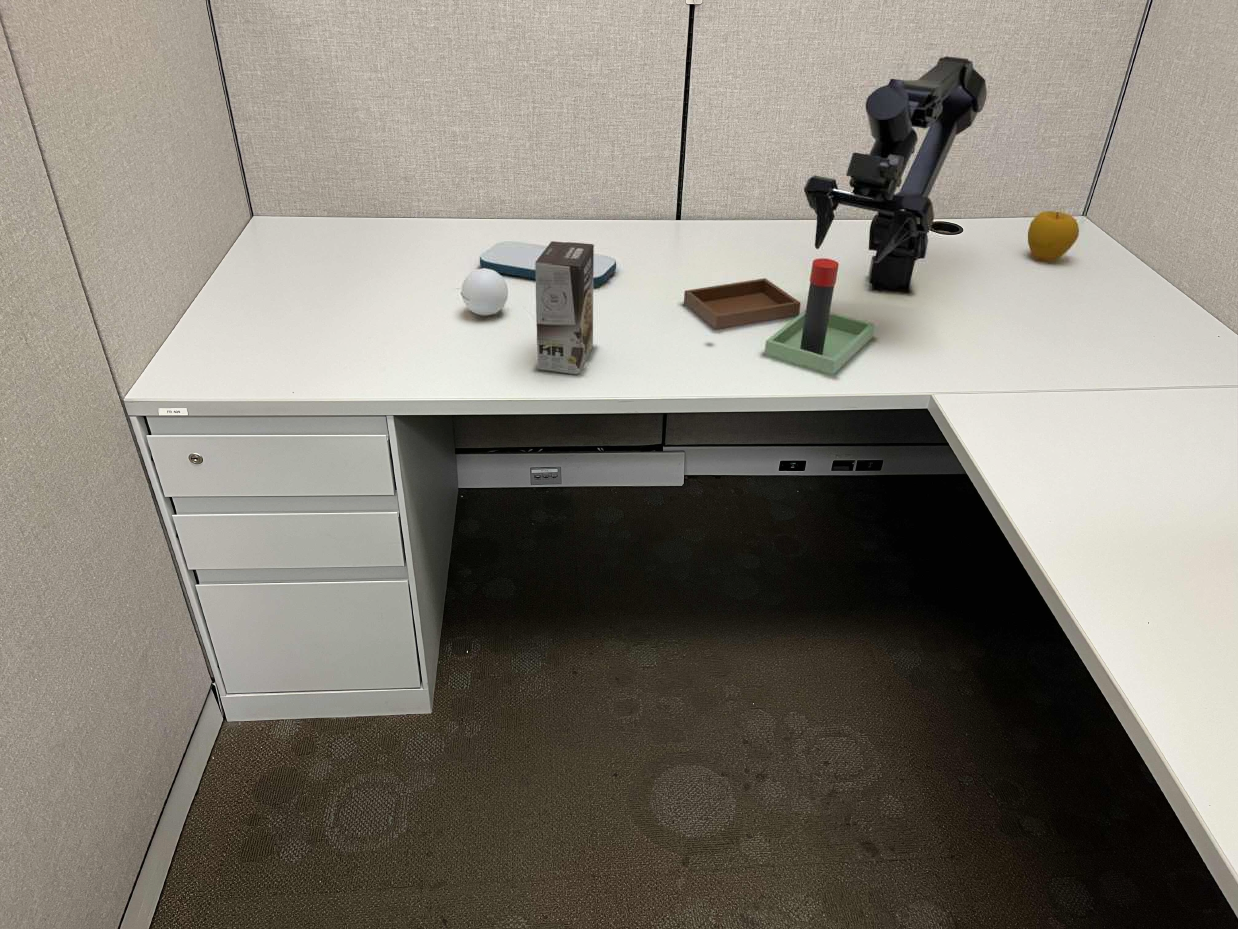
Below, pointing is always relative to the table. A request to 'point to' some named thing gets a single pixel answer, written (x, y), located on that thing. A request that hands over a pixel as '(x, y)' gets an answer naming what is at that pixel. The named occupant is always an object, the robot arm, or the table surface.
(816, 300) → the thermos
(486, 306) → the white rounded piece
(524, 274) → the blue white rounded slab
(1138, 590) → the table surface
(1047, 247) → the apple
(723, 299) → the walnut tray
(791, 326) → the green tray
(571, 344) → the coffee box
